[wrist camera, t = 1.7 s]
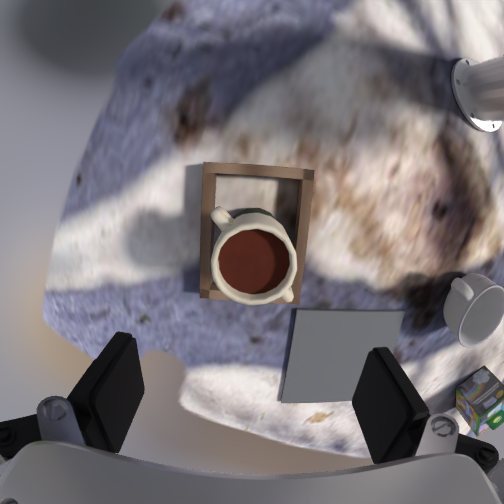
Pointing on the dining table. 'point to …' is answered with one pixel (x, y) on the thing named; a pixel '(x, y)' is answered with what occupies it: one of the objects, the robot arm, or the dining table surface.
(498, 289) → the teacup
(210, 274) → the collar
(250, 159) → the dining table surface
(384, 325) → the rubber mat
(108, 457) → the robot arm
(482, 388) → the chalk box
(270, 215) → the character mug
